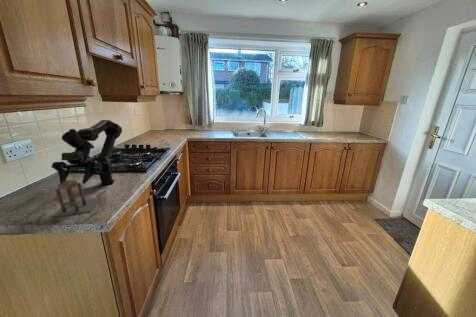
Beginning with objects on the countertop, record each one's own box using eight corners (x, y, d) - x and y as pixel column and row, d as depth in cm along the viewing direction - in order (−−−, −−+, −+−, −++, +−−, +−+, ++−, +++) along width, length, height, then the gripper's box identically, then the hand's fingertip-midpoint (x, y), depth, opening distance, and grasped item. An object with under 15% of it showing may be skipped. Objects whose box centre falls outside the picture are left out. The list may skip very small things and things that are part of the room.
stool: (72, 204, 94) (64, 180, 90) (87, 204, 94) (80, 179, 90) (62, 212, 88) (53, 186, 84) (77, 212, 88) (69, 186, 84)
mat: (65, 203, 96) (65, 202, 96) (99, 198, 100) (99, 197, 100) (52, 217, 85) (52, 216, 85) (91, 211, 89) (91, 210, 89)
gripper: (47, 144, 89) (34, 178, 82) (92, 143, 90) (83, 176, 83) (66, 156, 99) (55, 187, 92) (106, 154, 100) (98, 185, 93)
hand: (72, 184), depth 90 cm, fingers open, 9 cm apart
